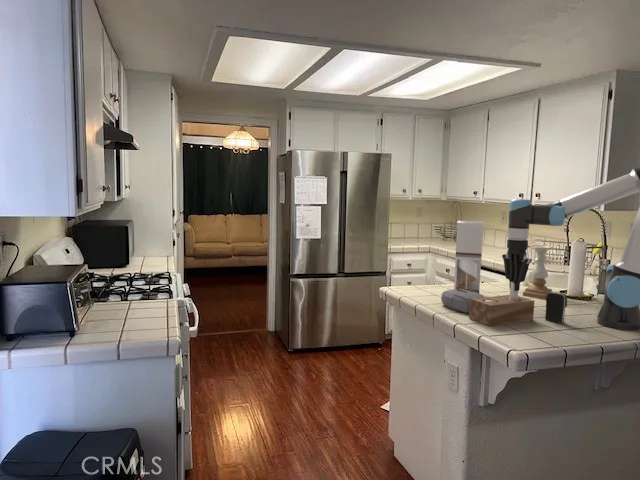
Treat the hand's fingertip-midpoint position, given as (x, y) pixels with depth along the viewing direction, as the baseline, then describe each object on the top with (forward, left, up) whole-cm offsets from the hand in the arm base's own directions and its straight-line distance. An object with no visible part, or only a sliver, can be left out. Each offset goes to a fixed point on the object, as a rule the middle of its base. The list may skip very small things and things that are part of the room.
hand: (513, 298), depth 190 cm
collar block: (0, +6, -8) cm, 10 cm away
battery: (-9, -13, -8) cm, 18 cm away
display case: (+38, -9, -8) cm, 40 cm away
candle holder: (+26, -42, -8) cm, 50 cm away
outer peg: (0, +12, -7) cm, 14 cm away
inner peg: (0, 0, -7) cm, 7 cm away
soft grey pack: (+18, +8, -9) cm, 22 cm away
